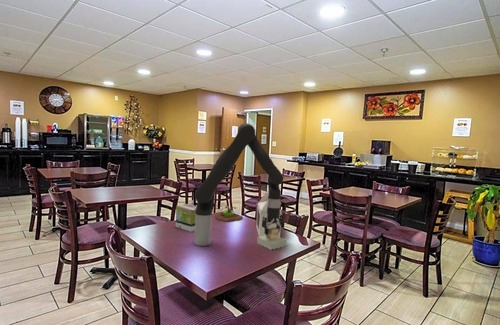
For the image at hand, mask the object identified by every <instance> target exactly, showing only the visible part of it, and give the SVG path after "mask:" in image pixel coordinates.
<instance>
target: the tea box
mask: <svg viewBox="0 0 500 325" xmlns="http://www.w3.org/2000/svg"><path fill="white" fill-rule="evenodd" d="M175 207H176V208H175V227H176V228H178V229H181V230H184V231H187V232H190V233H192V232H195V215H196V207H197V205H192V204H189V203H186V204H181V205H176V206H175Z"/></svg>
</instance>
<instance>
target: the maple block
mask: <svg viewBox="0 0 500 325" xmlns="http://www.w3.org/2000/svg"><path fill="white" fill-rule="evenodd" d="M268 229H269V230H268V235H266V238H267V239H269V240H271V241H272V240H276V239H278V231H279V229H277V228H275V227H269V228H268Z"/></svg>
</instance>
